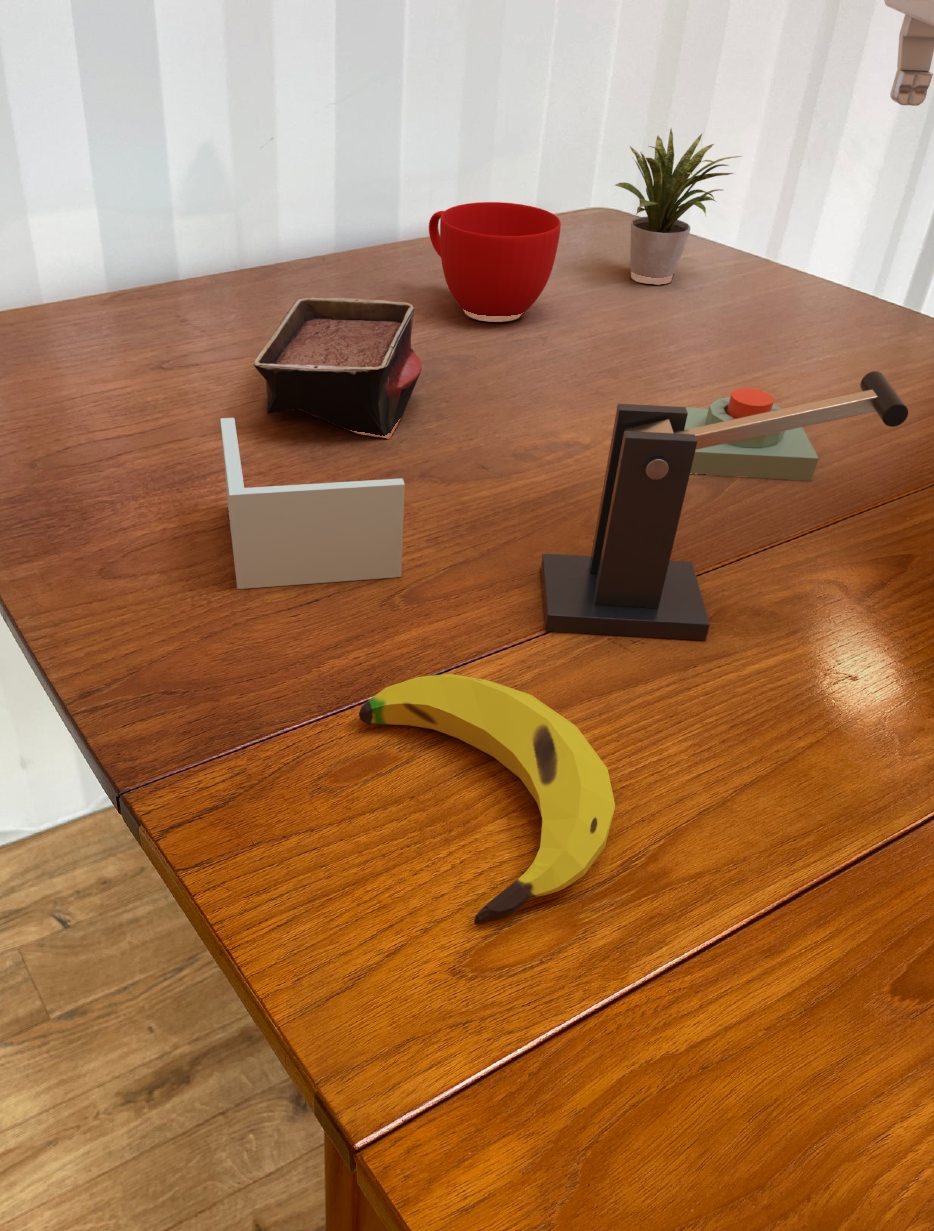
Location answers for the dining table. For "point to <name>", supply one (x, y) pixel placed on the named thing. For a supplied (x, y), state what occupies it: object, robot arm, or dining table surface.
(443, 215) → the ceramic cup
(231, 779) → the dining table surface
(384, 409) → the baking dish
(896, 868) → the dining table surface
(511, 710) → the banana
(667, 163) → the house plant
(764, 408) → the power button
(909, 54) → the robot arm
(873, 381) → the lever switch
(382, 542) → the right angle wall
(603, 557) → the hinged bracket stand
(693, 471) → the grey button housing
